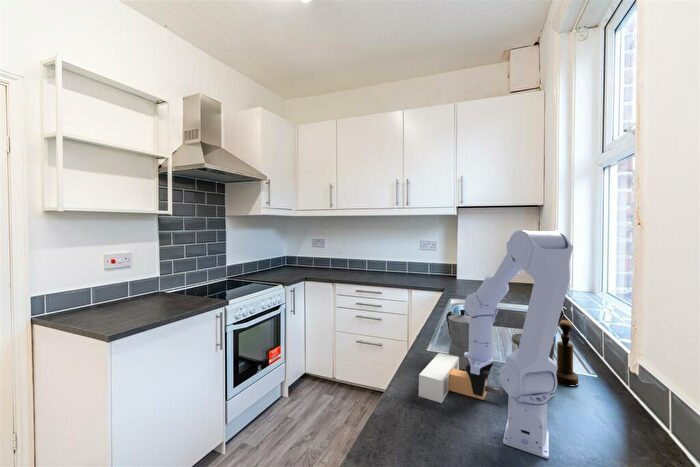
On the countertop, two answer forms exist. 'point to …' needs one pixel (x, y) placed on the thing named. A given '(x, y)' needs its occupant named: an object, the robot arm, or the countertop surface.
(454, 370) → the plug
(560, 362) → the wooden pepper mill
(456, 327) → the coffeepot
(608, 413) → the countertop surface
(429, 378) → the white rectangular block
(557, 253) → the robot arm
